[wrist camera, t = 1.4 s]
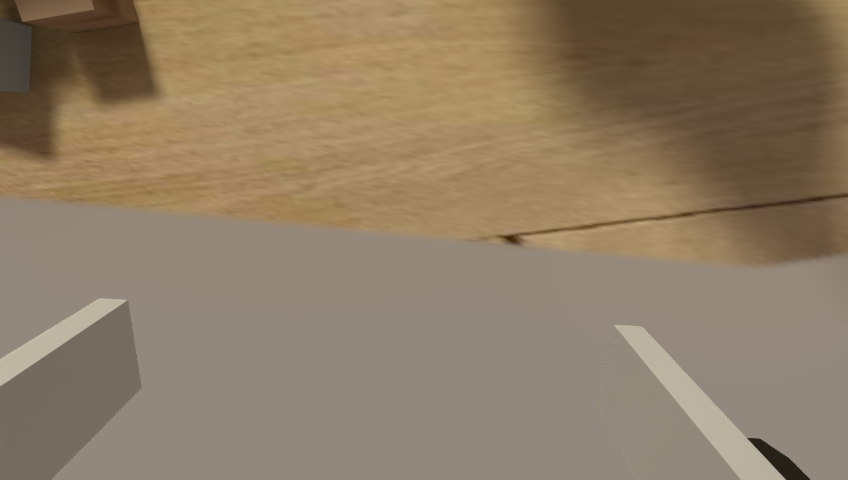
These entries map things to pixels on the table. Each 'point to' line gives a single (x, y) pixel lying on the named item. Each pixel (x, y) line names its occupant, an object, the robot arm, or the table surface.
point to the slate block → (15, 56)
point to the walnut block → (77, 13)
